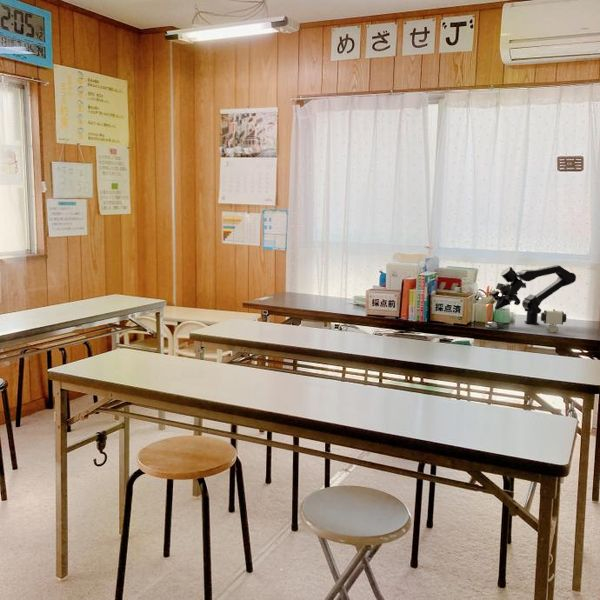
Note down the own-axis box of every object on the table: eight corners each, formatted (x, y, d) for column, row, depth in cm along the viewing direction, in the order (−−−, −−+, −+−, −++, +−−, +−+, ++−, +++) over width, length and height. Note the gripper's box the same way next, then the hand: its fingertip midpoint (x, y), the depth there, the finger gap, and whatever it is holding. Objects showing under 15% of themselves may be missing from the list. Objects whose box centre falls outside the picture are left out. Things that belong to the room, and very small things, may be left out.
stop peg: (496, 327, 331) (497, 322, 331) (502, 327, 331) (503, 322, 331) (497, 328, 328) (498, 323, 328) (503, 328, 328) (504, 323, 328)
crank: (498, 328, 326) (499, 307, 324) (489, 328, 326) (490, 307, 325) (491, 324, 339) (493, 303, 337) (483, 323, 339) (485, 303, 337)
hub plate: (484, 326, 334) (484, 324, 333) (497, 326, 333) (497, 324, 333) (486, 328, 327) (486, 326, 327) (500, 329, 326) (500, 327, 326)
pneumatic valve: (565, 333, 317) (567, 310, 315) (540, 332, 320) (542, 309, 318) (563, 331, 322) (565, 308, 320) (539, 330, 325) (541, 307, 323)
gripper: (494, 276, 346) (476, 296, 343) (517, 280, 329) (499, 301, 326) (504, 289, 350) (487, 310, 347) (528, 294, 333) (510, 315, 330)
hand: (495, 308), depth 338 cm, fingers closed
